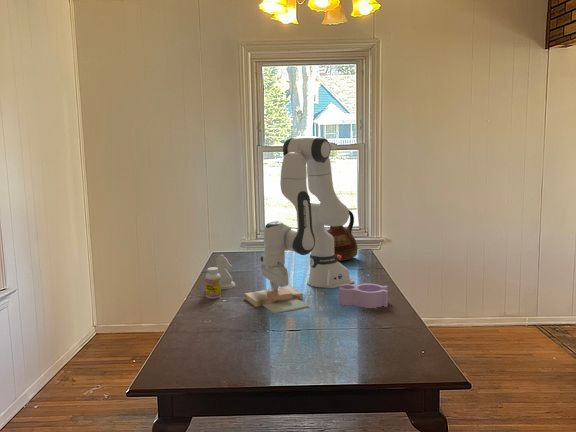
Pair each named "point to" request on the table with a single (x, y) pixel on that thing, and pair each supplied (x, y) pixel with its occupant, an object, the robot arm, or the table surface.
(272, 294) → the tile
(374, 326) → the table surface
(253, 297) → the beige flat block
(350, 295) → the clip
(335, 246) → the ceramic pitcher
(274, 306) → the mat
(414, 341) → the table surface
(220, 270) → the chess piece
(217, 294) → the supplement bottle
